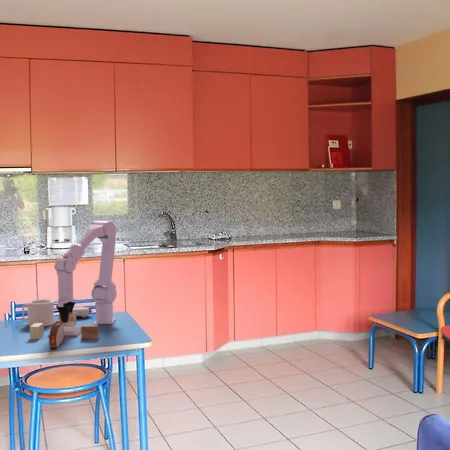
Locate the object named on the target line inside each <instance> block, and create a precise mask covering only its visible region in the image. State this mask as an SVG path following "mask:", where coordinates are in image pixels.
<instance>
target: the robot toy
mask: <svg viewBox="0 0 450 450" xmlns="http://www.w3.org/2000/svg"><path fill="white" fill-rule="evenodd" d="M92 312H93V309H91V308H90V307H89V306H83V305H74V308H73V311H72V313H76V317H80V318H82V317H83V318H86V317H88V316H89V315H90V314H91V313H92Z"/></svg>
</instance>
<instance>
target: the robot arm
mask: <svg viewBox="0 0 450 450" xmlns="http://www.w3.org/2000/svg"><path fill="white" fill-rule="evenodd" d="M116 233H117V226H116V224H114V222H113V221H111V220H108V221H107V220H106V221H105V220H93V221H91V223H90V224H89V225H88V226H87V231H86V232H85V234H84V235H83V236H82V237H81V239H80V240H79V242H78V243H75V244H72V245H71V246H70V247H69V249H68V250H67V252H66V253H64V254H63V256H62V257H59V258H58V259H57V260H56V261H55V263H54V265H53V266H54V269H55V271H56V275H57V290H58V291H57V294H58V295H57V304H56V306H55V308H56V310H57V311H58V313H59V314H60V317H61V321H62V322H64V323H67V322H68V316H69V313H72V311H73V308H74V306H76V300H77V298H76V297H75V295H74V276H73V275H74V273H73V272H74V271H75V270H76V269H77V264H78V262H79V260H80V259H81V258H82V257H83V256H84V255H85V249H86V248H87V247H88V246H89V245H90V244H91V243H92V242H94V240H95V239H98V240H99V241H100V242H101V243H102V245H101V246H102V247H101V254H100V255H101V257H100V263H99V264H100V265H99V274H98V279H97V280H96V281H95V282H94V283H93V288H92V289H91V298H92V299H93V300H94V303H95V321H94V322H93V324H98V325H113V323H114V322H115V321H116V318H114V304H113V303H114V302H115V300H116V298H117V285H116V283H115V282H113V281H112V279H113V278H112V277H113V269H114V260H115V250H116V243H117V242H116V241H117V238H116Z"/></svg>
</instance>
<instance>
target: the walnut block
mask: <svg viewBox="0 0 450 450" xmlns="http://www.w3.org/2000/svg"><path fill="white" fill-rule="evenodd" d="M80 327H81V333H80V337H81V338H80V340H98V338H99V336H100V335H99V324H94V323H93V324H92V323H91V324H82V325H81V326H80Z"/></svg>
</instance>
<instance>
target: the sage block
mask: <svg viewBox="0 0 450 450" xmlns="http://www.w3.org/2000/svg"><path fill="white" fill-rule="evenodd" d="M44 327H45V326H43V323H34V324H33V325H31V326H29V340H40V339H41V338H42V337H44V336H43V335H45V331H44V330H45V328H44Z"/></svg>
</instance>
